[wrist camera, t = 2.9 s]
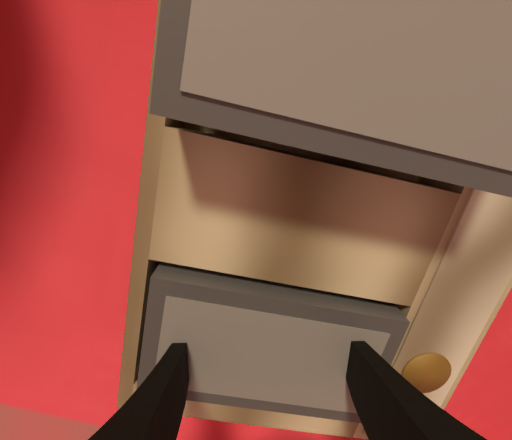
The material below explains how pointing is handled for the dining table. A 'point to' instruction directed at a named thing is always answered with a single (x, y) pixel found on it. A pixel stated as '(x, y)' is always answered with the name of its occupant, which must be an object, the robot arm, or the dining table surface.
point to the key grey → (349, 80)
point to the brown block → (264, 340)
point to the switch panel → (320, 247)
